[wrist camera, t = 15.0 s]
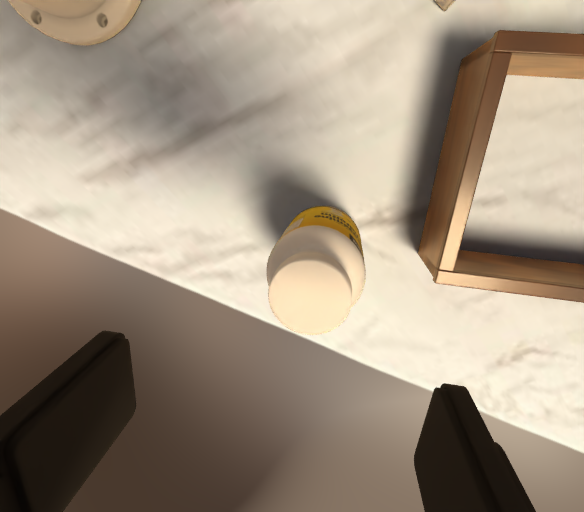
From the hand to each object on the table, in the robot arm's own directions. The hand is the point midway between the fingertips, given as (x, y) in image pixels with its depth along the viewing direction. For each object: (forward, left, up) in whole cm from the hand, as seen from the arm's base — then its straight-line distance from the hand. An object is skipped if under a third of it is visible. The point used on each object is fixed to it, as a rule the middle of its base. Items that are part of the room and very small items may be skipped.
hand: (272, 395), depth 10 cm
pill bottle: (0, -1, -20) cm, 20 cm away
